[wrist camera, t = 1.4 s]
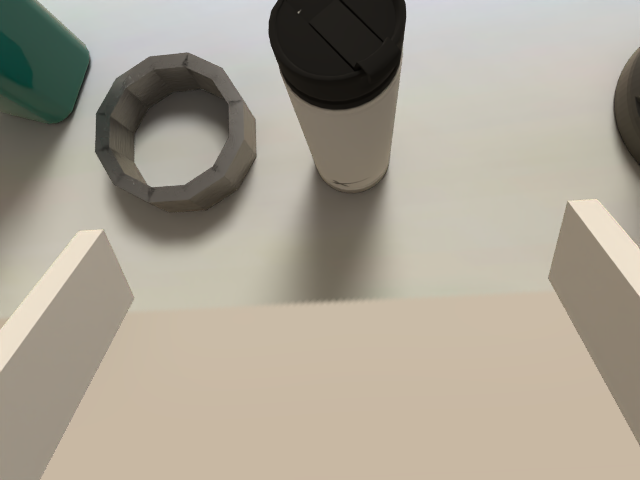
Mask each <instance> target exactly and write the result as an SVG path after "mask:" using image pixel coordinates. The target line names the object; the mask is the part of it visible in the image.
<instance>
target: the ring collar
mask: <svg viewBox="0 0 640 480" xmlns="http://www.w3.org/2000/svg"><path fill="white" fill-rule="evenodd" d="M198 89H203V90H205V91H207V92H209V93H211V94H213V95H216V96H218V97H220V98H222V99H224V100H226V102H227V103H228V105H229V138H228V140H227V142H226V144H225V145H224V147H223V149H222V151H221V153H220V155H219V156H218V158H217V160H216V162H215V164H214V166H213V167H211V168H210V169H208V170H207V171H205V172H204V173H202V174H201V175H199V176H198V177H196V178H195V179H193V180H192V181H190V182H189V183H187V184H185V185H179V186H165V187H150V186H148V185H147V184H146V182H145V180H144V179H143V177H142V175H141V173H140V172H139V170H138V168H137V167H136V165H135V163H134V133H135V132H136V130H137V128H138V126H139V125H140V123H141V121H142V119H143V117H144V116H145V114H146V112H147V110H148V109H149V108H150V107H151V106H153V105H154V104H156V103H157V102H159V101H160V100H162V99H163V98H165V97H166V96H168V95H169V94H171V93H172V92H178V91H188V90H198ZM95 152H96V154H97V156H98V158H99V160H100V161H101V163H102V165H103V167H104V168H105V170H106V172H107V174H108V175H109V177H110V179H111V181H112V182H113V184H114V185H115V186H117V187H119V188H121V189H123V190H125V191H127V192H129V193H131V194H133V195H134V196H136V197H138V198H140V199H142V200H144V201H146V202H148V203H150V204H152V205H154V206H156V207H158V208H161V209H163V210H165V211H167V212H169V213H173V212H187V211H202V210H207V209H209V208H211V207H212V206H214V205H215V204H217V203H218V202H220V201H221V200H223V199H224V198H226V197H227V196H229V195H230V194H232V193H233V192H235V191H236V190H238V189H239V187H240V185H241V183H242V182H243V180H244V178H245V176H246V174H247V172H248V170H249V169H250V167H251V165H252V163H253V161H254V159H255V157H256V122H255V118H254V116H253V115H252V113H251V112H250V110H249V108H248V107H247V105H246V103H245V102H244V100H243V99H242V97H241V96H240V94H239V92H238V91H237V89H236V88H235V86H234V85H233V83H232V82H231V80H230V79H229V77H228V76H227V74H226V73H225V71H224V70H223V68H221V67H219V66H217V65H215V64H212V63H210V62H208V61H206V60H204V59H201V58H199V57H197V56H195V55H192V54H190V53H179V54H170V55H160V56H151V57H148V58H147V59H145V60H144V61H142V62H141V63H139V64H138V65H136V66H134V67H133V68H131V69H130V70H128V71H127V72H125V73H124V74H122V75H121V76H119V77H118V78H116V80H115V81H114V83H113V85H112V87H111V88H110V90H109V92H108V94H107V95H106V97H105V99H104V101H103V102H102V104H101V106H100V108H99V109H98V111H97V113H96V141H95Z"/></svg>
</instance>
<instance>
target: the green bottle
mask: <svg viewBox="0 0 640 480" xmlns="http://www.w3.org/2000/svg"><path fill="white" fill-rule="evenodd" d="M89 62H90V59H89V51H88V50H87V48H86V46H85V44H84V43H83V42H82V41H81V40H80V39H79V38H77V37H76V36H75V35H74V34H73V33H72V32H71V31H70V30H69V29H68V28H67V27H65V26H64V25H63V24H62V23H61V22H60V21H59V20H58V19H57V18H56V17H55V16H54V15H52V14H51V13H50V12H49V11H48V10H47V9H46V8H45V7H44V6H43V5H42V4H41V3H39V2H38V1H37V0H0V112H2V113H6V114H10V115H14V116H18V117H22V118H27V119H31V120H35V121H39V122H43V123H47V124H53V123H59V122H61V121H62V120H64V119H66V118H67V117H68V116H69V115H70V113H71V112H72V111H73V108H74V105H75V102H76V99H77V96H78V94H79V91H80V88H81V85H82V82H83V79H84V76H85V73H86V71H87V68H88V65H89Z"/></svg>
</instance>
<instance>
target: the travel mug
mask: <svg viewBox="0 0 640 480" xmlns="http://www.w3.org/2000/svg"><path fill="white" fill-rule="evenodd" d="M405 23H406V4H405V1H404V0H278V1H277V3H276V4H275V6H274V7H273V9H272V11H271V15H270V19H269V38H270V43H271V46H272V49H273V52H274V54H275V57H276V60H277V62H278V64H279V69H280V73H281V76H282V78H283V81H284V84H285V86H286V89H287V92H288V94H289V97H290V99H291V102H292V105H293V107H294V110H295V112H296V115H297V118H298V120H299V123H300V125H301V128H302V131H303V133H304V136H305V138H306V141H307V144H308V146H309V149H310V151H311V154H312V157H313V159H314V162H315V164H316V167H317V170H318V172H319V174H320V176H321V177H322V179H323V180H324V181H325V182H326V183H327V184H328V185H329V186H331V187H332V188H334V189H336V190H338V191H341V192H346V193H358V192H362V191H365V190H367V189H370V188H371V187H373V186H374V185H376V184H377V183H378V182H379V181H380V180H381V179H382V177H383V176H384V174H385V173H386V170H387V168H388V165H389V159H390V151H391V143H392V136H393V128H394V120H395V112H396V104H397V96H398V89H399V81H400V73H401V65H402V57H403V40H404V31H405Z"/></svg>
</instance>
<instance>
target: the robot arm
mask: <svg viewBox="0 0 640 480" xmlns="http://www.w3.org/2000/svg"><path fill="white" fill-rule="evenodd" d="M615 115H616V121H617V125H618V129H619V132H620V134H621V137H622V139H623V141H624V143H625V145H626V147H627V148H628V150H629V152H630V153H631V155H632V156H633V157H634V158H635V160H636V161H637V162H638V163H639V164H640V47H639V48H638V49H637V50H636V51H635V52H634V54H633V55H632V56H631V57H630V59H629V60H628V62H627V63H626V65H625V67H624V69H623V70H622V73H621V75H620V78H619V81H618V84H617V88H616V94H615ZM548 279H549V281H550V282H551V284H552V286H553V288H554V290H555V292H556V293H557V295H558V297H559V299H560V301H561V303H562V304H563V306H564V308H565V310H566V311H567V313H568V315H569V317H570V319H571V321H572V323H573V324H574V326H575V328H576V330H577V332H578V334H579V335H580V337H581V339H582V341H583V343H584V344H585V346H586V348H587V350H588V352H589V354H590V355H591V357H592V359H593V361H594V363H595V365H596V367H597V368H598V370H599V372H600V374H601V376H602V378H603V379H604V381H605V383H606V385H607V386H608V388H609V390H610V392H611V394H612V396H613V398H614V399H615V401H616V403H617V405H618V407H619V409H620V410H621V412H622V414H623V416H624V417H625V420H626V421H627V423H628V425H629V427H630V428H631V430H632V432H633V434H634V436H635V438H636V440H637V441H638V443H639V445H640V248H639V247H638V246H637V245H636V244H635V242H634V241H633V240H632V239H631V238H630V237H629V235H628V234H627V233H626V232H625V231H624V230H623V228H622V227H621V226H620V225H619V224H618V223H617V221H616V220H615V219H614V218H613V217H612V216H611V214H610V213H609V212H608V211H607V210H606V209H605V207H604V206H603V205H602V204H601V203H600V202H599V200H598V199H589V200H572V201H567V205H566V209H565V213H564V217H563V221H562V225H561V229H560V233H559V237H558V241H557V245H556V249H555V253H554V257H553V261H552V265H551V269H550V273H549V277H548ZM133 300H134V296H133V294H132V291H131V289H130V287H129V285H128V282H127V280H126V278H125V276H124V274H123V271H122V269H121V267H120V265H119V263H118V260H117V258H116V256H115V254H114V251H113V249H112V247H111V245H110V243H109V240H108V238H107V236H106V234H105V232H104V229H101V230H84V231H78V232H77V234H76V235H75V236H74V238H73V239H72V240H71V241H70V243H69V244H68V245H67V246H66V248H65V249H64V250H63V251H62V253H61V254H60V255H59V256H58V258H57V259H56V260H55V261H54V263H53V264H52V265H51V267H50V268H49V269H48V270H47V272H46V273H45V274H44V275H43V277H42V278H41V279H40V280H39V282H38V283H37V284H36V285H35V287H34V288H33V289H32V290H31V292H30V293H29V294H28V296H27V297H26V298H25V299H24V301H23V302H22V303H21V304H20V306H19V307H18V308H17V309H16V311H15V312H14V313H13V314H12V316H11V317H10V318H9V319H8V321H7V322H6V323H5V325H4V326H3V327H2V328H1V330H0V480H40V479H41V477H42V475H43V473H44V471H45V469H46V467H47V465H48V463H49V461H50V459H51V457H52V456H53V454H54V452H55V450H56V448H57V446H58V444H59V442H60V440H61V438H62V436H63V434H64V432H65V431H66V428H67V427H68V425H69V422H70V421H71V419H72V417H73V415H74V413H75V411H76V409H77V407H78V406H79V404H80V402H81V400H82V398H83V396H84V394H85V392H86V390H87V388H88V386H89V384H90V382H91V381H92V379H93V377H94V375H95V373H96V371H97V369H98V367H99V365H100V363H101V361H102V359H103V357H104V355H105V354H106V352H107V350H108V348H109V346H110V344H111V342H112V340H113V338H114V336H115V334H116V332H117V331H118V329H119V327H120V325H121V323H122V321H123V319H124V317H125V315H126V313H127V311H128V309H129V307H130V306H131V304H132V302H133Z"/></svg>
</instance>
